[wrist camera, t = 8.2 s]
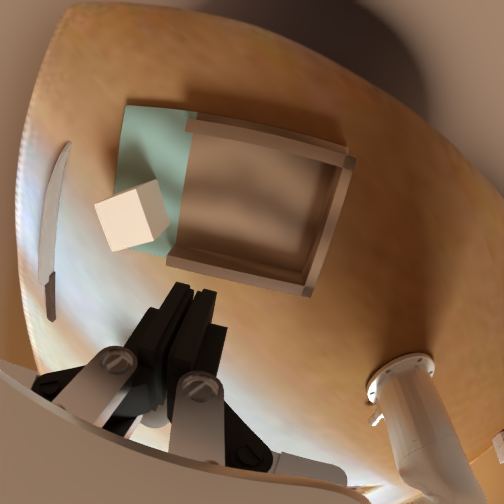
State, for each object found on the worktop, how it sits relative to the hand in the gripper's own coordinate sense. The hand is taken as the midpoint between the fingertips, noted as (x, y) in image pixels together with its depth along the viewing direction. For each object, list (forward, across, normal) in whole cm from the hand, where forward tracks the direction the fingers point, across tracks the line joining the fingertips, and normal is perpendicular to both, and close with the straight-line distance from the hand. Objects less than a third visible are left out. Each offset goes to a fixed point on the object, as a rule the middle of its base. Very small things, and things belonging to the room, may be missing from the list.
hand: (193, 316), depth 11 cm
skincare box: (+23, -121, +62) cm, 138 cm away
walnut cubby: (+19, +3, -1) cm, 19 cm away
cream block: (+18, +10, +2) cm, 21 cm away
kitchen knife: (+19, +25, +10) cm, 33 cm away
